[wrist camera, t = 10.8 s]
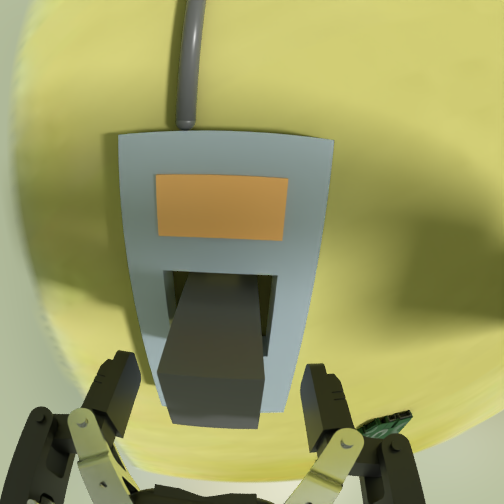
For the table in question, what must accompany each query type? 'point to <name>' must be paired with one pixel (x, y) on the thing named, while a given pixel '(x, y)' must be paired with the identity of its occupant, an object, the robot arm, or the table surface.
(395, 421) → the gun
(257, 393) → the block
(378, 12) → the table surface
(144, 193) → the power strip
